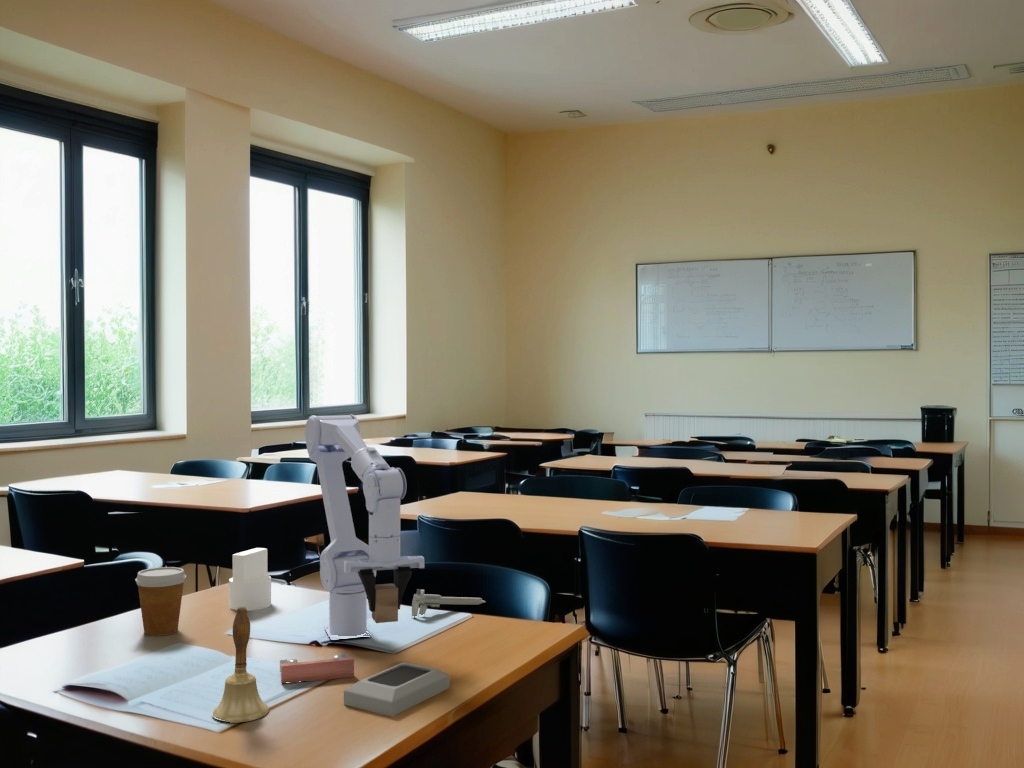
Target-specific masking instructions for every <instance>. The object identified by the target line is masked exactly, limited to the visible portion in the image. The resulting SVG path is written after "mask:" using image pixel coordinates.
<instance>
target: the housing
mask: <svg viewBox="0 0 1024 768" xmlns="http://www.w3.org/2000/svg"><path fill="white" fill-rule="evenodd" d="M280 672H281V674H280V684H281V683H286V682H299V681H307V682H308V681H309V682H317V681H327V680H335V679H346V678H354V677H355V658H354V656H353V657H352V656H351V657H350V656H349V657H348V655H347V653H342V654H335V655H333V656H332V658H331V659H322V660H321V659H320V660H310V661H309V660H308V661H299V662H298V659H296V658H292V659H291V658H290V659H280V660H279V673H280ZM307 682H306V683H307ZM299 683H300V682H299Z"/></svg>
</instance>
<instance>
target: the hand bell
mask: <svg viewBox="0 0 1024 768" xmlns="http://www.w3.org/2000/svg"><path fill="white" fill-rule="evenodd" d="M235 613H236V614H235V616H234V619H233V623H232V639H233V644H234V647H235V660H234V661H235V662H234V663H235V664H234V666H235V667H234V673H233V674H231V675H229V676H228V677H226V679H225V680H224V681H225V682H224V689H223V694H222V697H221V700H220V702H219V704H218V706H216V707H215V708H214V709H213V711H212V713H213V716H214V717H216V718H218V719H221V720H225V721H227V722H230V724H233V723H234V724H238V723H243V722H252V721H255V720H258V719H260V718H262V717H265V716H266V715H267V714H268V713H269V711H270V708H269V706H268V704H267V703H266V702H264V701H263V699H262V698H261V696H260V693H259V690H258V685H257V679H256V676H255V675H253V674H251V673H249V672H248V671H247V667H248V666H247V663H248V662H247V650H248V649H247V647H248V644H249V640H250V636H251V622H250V617H249V615H248V611H246V608H245V607H240V608H238V609H237V610H236V612H235Z"/></svg>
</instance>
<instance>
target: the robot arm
mask: <svg viewBox="0 0 1024 768" xmlns="http://www.w3.org/2000/svg"><path fill="white" fill-rule="evenodd" d="M360 426H361V424H360V421H359V420H358V417H357V416H355V414H351V413H350V414H348V415H345V414H343V415H313V414H312V415H310V416H309V417H308V419H307V421H306V422H305V428H304V429H305V430H304V439H305V445H306V450H307V454H308V458H309V460H311V461H312V462H314V463H316V468H317V473H318V478H319V484H320V490H321V495H322V499H323V500H322V501H323V506H324V510H325V511H324V512H325V517H326V522H327V527H328V533H329V537H330V538H329V539H330V543H329V544H328V546H326V547H325V548H324V549H323V550H322V551H321V553H320V555H319V566H320V567H319V577H320V582H321V584H322V585H323V588H325V589H326V590H327V591H329V600H328V603H329V605H328V607H329V608H328V610H329V611H328V615H329V616H328V617H329V618H328V620H329V622H328V625H325V626H324V627H323V628H325V629H324V631H325V630H326V631H325V633H326V632H327V633H326V635H327V634H328V635H329V636H331V635H338V636H357V635H361V634H364V633H366V634H367V635H366V634H365V635H363V636H371V637H372V633H371V632H370V631H369V629H368V627H367V623H368V622H367V621H368V619H367V617H368V616H367V615H368V613H367V611H368V609H369V611H370V612H371V613H372V612H375V585H376V576H377V571H385V570H387V571H388V570H392V571H393V584H394V585H395V586H396V587H397V588H398V611H399V610H401V604H402V601H403V600H402V599H403V597H404V594H405V590H406V588H407V585H408V583H409V581H410V580H411V577H412V573H413V571H412V570H411V569H416V568H417V569H425V557H424V556H423V555H401V500H403V499H404V498H405V496H406V493H407V486H408V485H407V479H406V475H405V472H404V471H403V470H402V468H400V467H394V466H392V467H390V465H389V464H388V463H387V461H386V460H385V459H384V457H382V455H381V454H380V453H379V451H378V450H377V449H376V448H375V447H372V446H371V447H370V446H367V445H366V443H365V441H364V439H363V437H362V436H361V427H360ZM350 458H351V460H350V461H351V462H350V464H351V465H350V466H351V468H352V469H351V470H353V472H354V473H355V474H356V476H357V477H358V478H359V480H360V481H361V482H362V490H363V495H364V498H365V507H366V510H367V512H368V544H367V543H365V542H364V541H362V540H361V539H359V538H358V537H357V536H356V530H355V526H354V525H355V524H354V522H353V516H352V511H351V510H352V509H351V505H350V500H349V496H348V491H347V485H346V481H345V480H346V479H345V475H344V470H343V464H344V463H343V462H345V461H346V460H348V459H350ZM367 603H368V604H367ZM367 605H368V607H367ZM367 608H368V609H367ZM367 629H368V630H367ZM366 631H368V632H369V633H370V634H371V635H370V634H369V633H367V632H366ZM368 634H369V635H368ZM328 635H327V636H328Z"/></svg>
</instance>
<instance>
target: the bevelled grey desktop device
mask: <svg viewBox="0 0 1024 768" xmlns="http://www.w3.org/2000/svg"><path fill="white" fill-rule="evenodd" d="M450 680H451V679H450V676H449V674H448V673H447V672H445V671H443V670H441V669H439V668H434V667H430V666H425V665H420V664H416V663H410V662H406V661H403V662H400V663H398V664H396V665H394V666H390V667H389V668H387V669H383V670H382V671H380V672H377V673H374V674H372V675H370V676H368V677H365V678H363V679H360V680H358V681H357V682H355V683H353V685H350V686H349V687H347V688H345V689H344V691H343V705H345V706H347V707H353V708H355V709H356V708H357V709H361V710H364V711H368V712H373V713H376V714H380V715H384V716H389V717H394V716H396V715H398V714H399V713H402V712H404V711H406V710H408V709H411V708H412V707H414V706H416V705H418V704H420V703H422V702H425V700H428V699H430V698H432V697H434V696H436V695H438V694H440V693H442V692H444V691H446V690H448V689H450V688H449V687H450V686H451V685H450V684H451V683H450V682H451V681H450ZM447 688H448V689H447Z"/></svg>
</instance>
